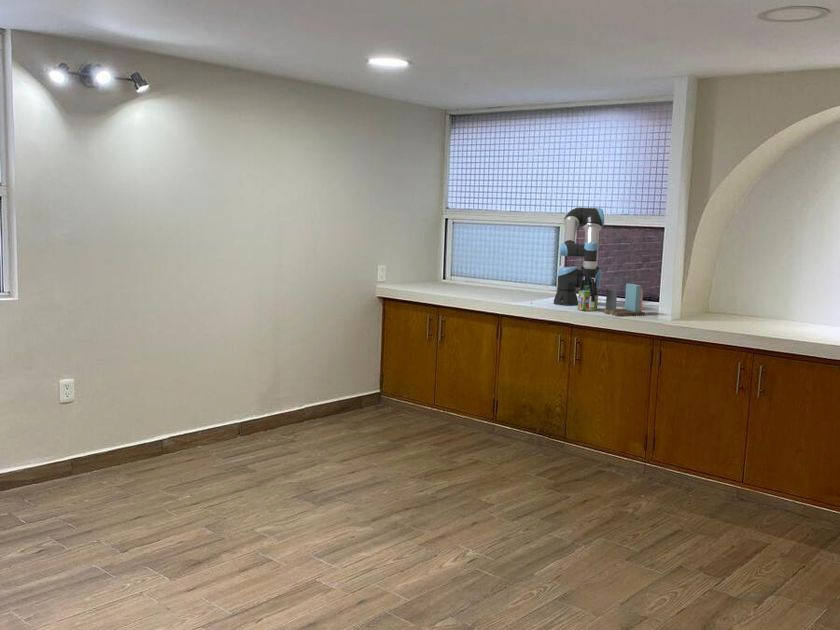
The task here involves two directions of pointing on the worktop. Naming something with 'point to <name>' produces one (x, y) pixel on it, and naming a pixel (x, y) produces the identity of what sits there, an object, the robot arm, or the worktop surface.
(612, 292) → the bookend
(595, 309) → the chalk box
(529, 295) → the worktop surface
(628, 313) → the shelf
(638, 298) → the books
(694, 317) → the worktop surface
